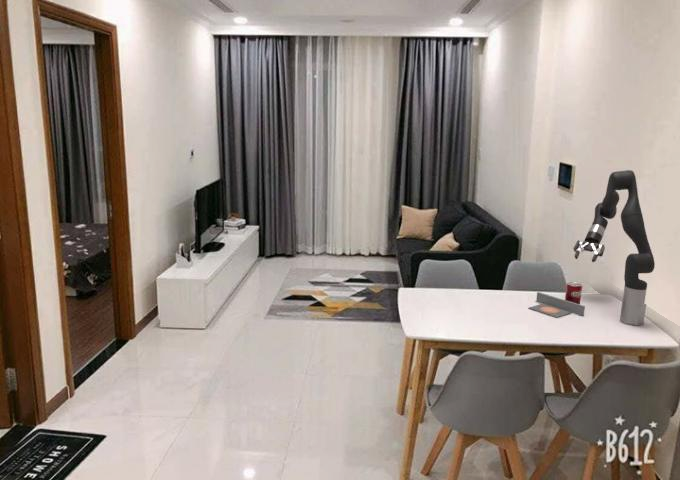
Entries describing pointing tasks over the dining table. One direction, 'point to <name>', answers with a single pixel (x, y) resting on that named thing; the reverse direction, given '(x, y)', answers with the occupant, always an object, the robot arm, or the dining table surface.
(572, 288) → the soda can
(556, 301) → the low wall
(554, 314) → the mat
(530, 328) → the dining table surface
